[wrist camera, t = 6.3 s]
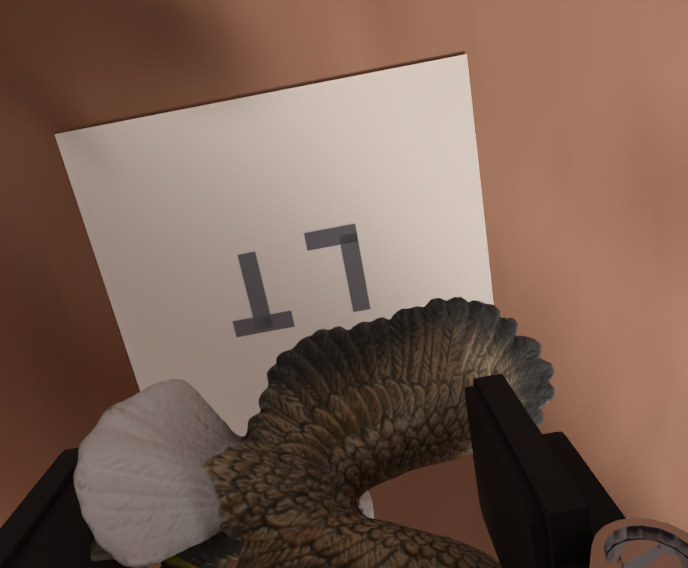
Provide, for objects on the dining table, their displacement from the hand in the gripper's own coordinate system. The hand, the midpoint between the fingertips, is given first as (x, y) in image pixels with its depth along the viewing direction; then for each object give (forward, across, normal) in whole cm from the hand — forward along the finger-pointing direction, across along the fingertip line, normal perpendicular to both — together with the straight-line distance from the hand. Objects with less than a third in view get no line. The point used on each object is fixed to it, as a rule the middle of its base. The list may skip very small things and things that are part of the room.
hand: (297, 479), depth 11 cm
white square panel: (+12, 0, -1) cm, 12 cm away
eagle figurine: (+3, -1, +1) cm, 3 cm away
